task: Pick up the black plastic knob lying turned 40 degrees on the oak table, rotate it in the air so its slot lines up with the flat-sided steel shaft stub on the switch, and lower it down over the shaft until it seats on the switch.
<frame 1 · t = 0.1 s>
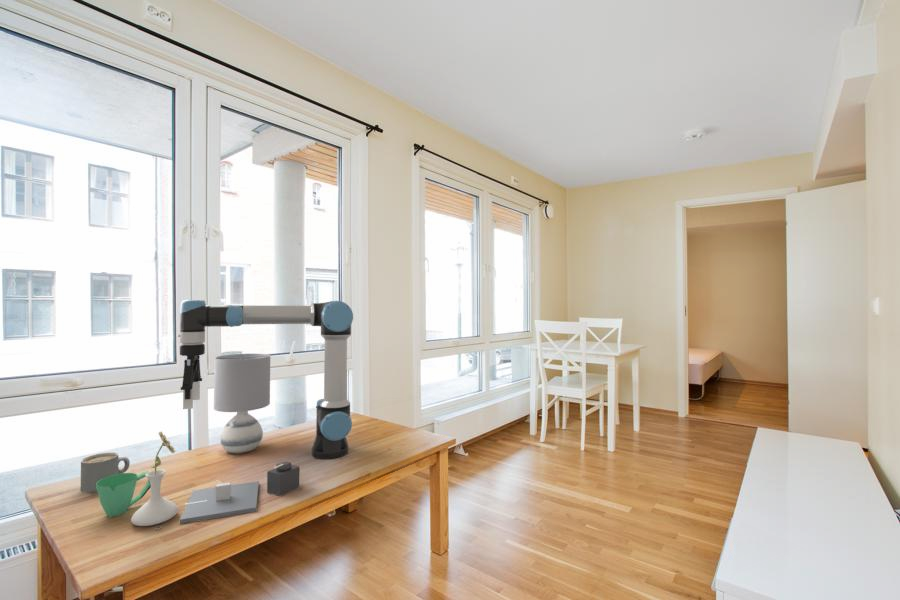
hand: (191, 404, 147), 28 cm above the table, fingers open, 13 cm apart
knob: (283, 489, 143), on the table
lamp: (242, 450, 180), on the table
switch: (223, 502, 133), on the table
coffee mug: (106, 485, 145), on the table
mug: (126, 509, 129), on the table
flower in vase: (156, 519, 123), on the table
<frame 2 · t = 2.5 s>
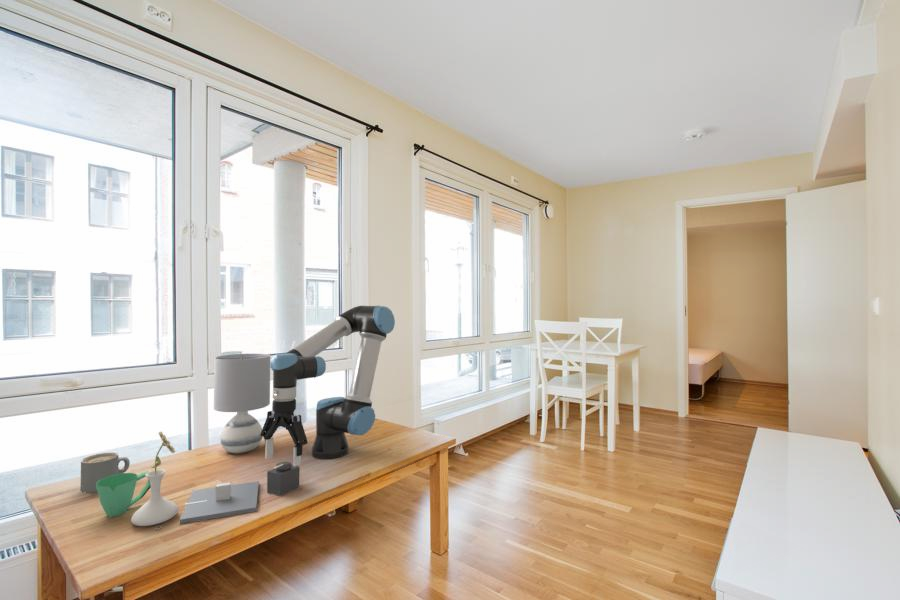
hand: (282, 461, 143), 10 cm above the table, fingers open, 13 cm apart
nothing on the table moved.
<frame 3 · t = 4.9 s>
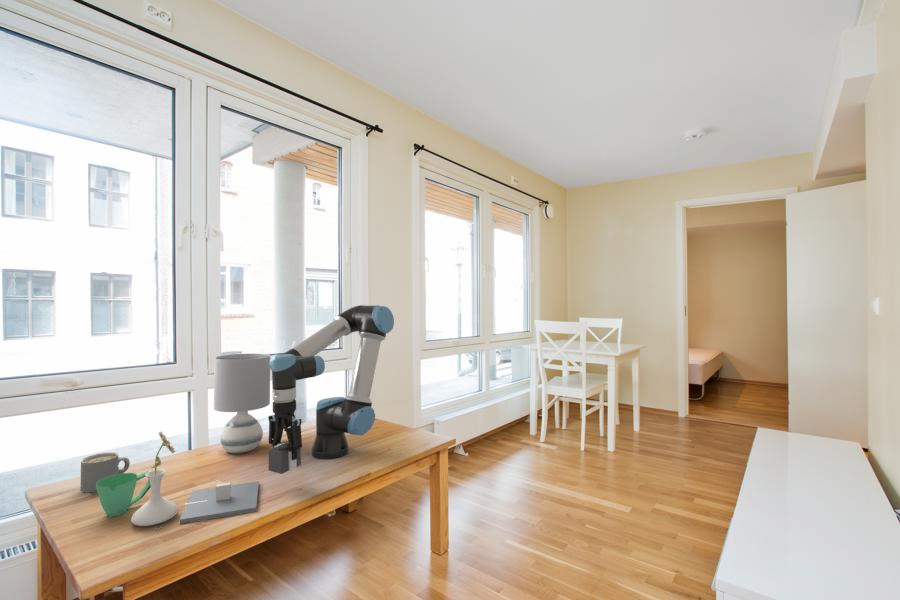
hand: (285, 466, 144), 8 cm above the table, fingers closed on knob, 6 cm apart
knob: (284, 467, 143), point 7 cm above the table, touching gripper
everything else where it was.
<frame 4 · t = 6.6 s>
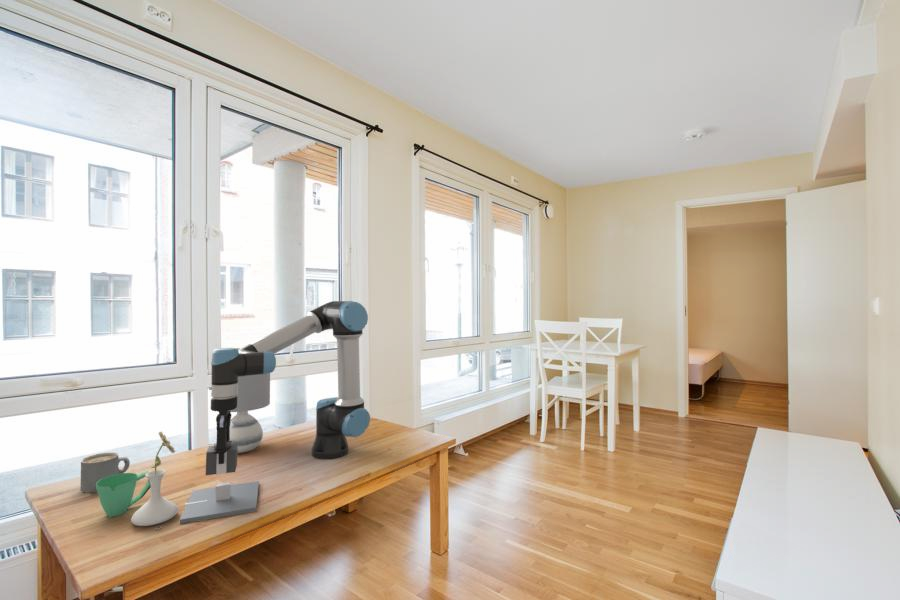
hand: (222, 469, 133), 11 cm above the table, fingers closed on knob, 6 cm apart
knob: (221, 469, 133), point 10 cm above the table, touching gripper
everything else where it was.
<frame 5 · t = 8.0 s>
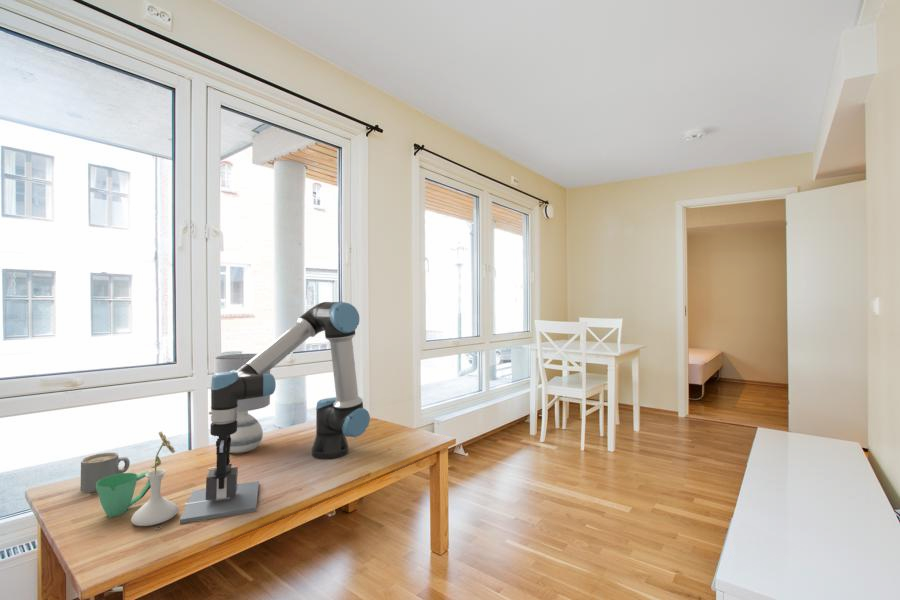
hand: (222, 493, 133), 3 cm above the table, fingers closed on knob, 6 cm apart
knob: (221, 494, 133), point 3 cm above the table, touching gripper
everything else where it was.
when the fingers open (2 cm above the table, at t = 8.7 s): knob stays where it is, resting on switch.
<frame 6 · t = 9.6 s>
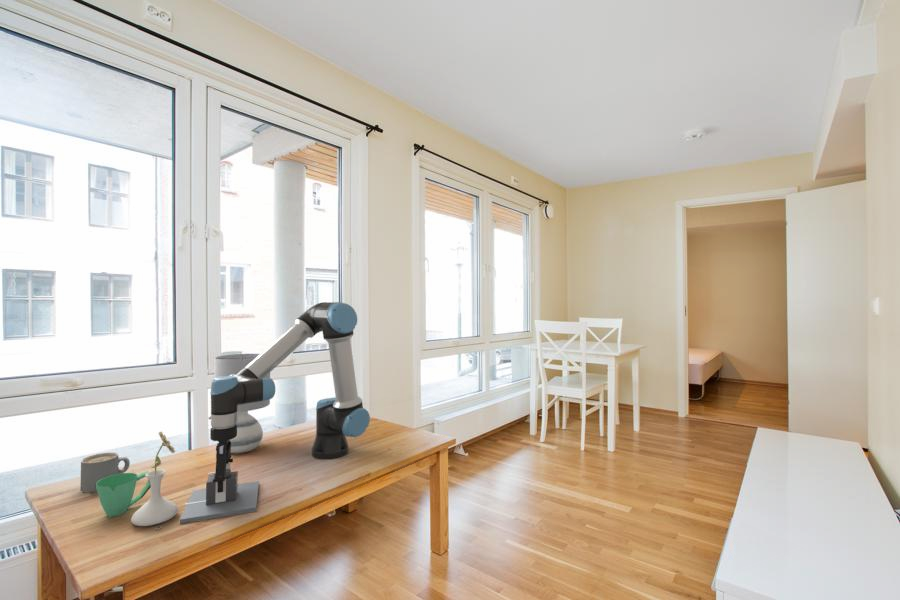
hand: (223, 492, 133), 3 cm above the table, fingers open, 13 cm apart
knob: (222, 498, 133), point 1 cm above the table, touching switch
everything else where it was.
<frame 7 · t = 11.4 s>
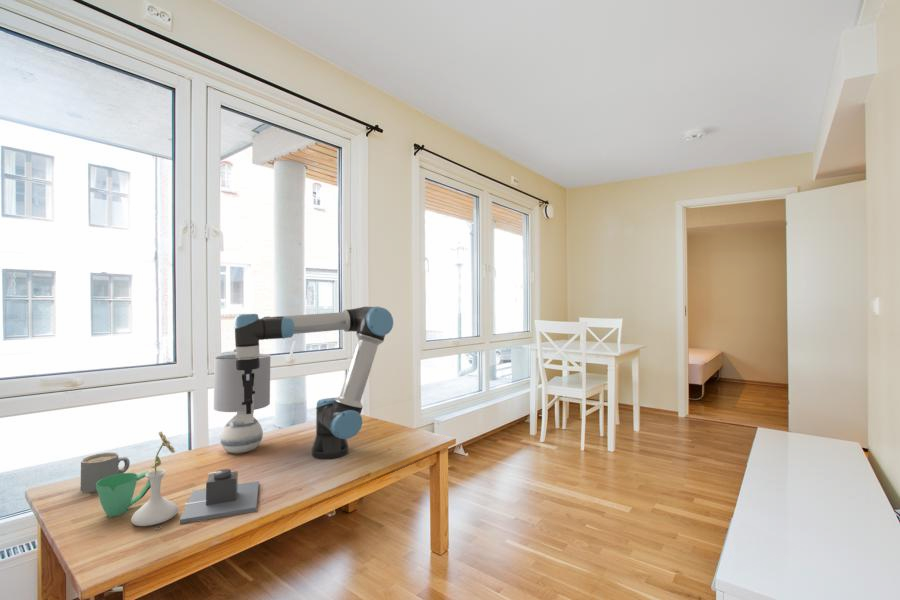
hand: (249, 417, 147), 23 cm above the table, fingers open, 13 cm apart
nothing on the table moved.
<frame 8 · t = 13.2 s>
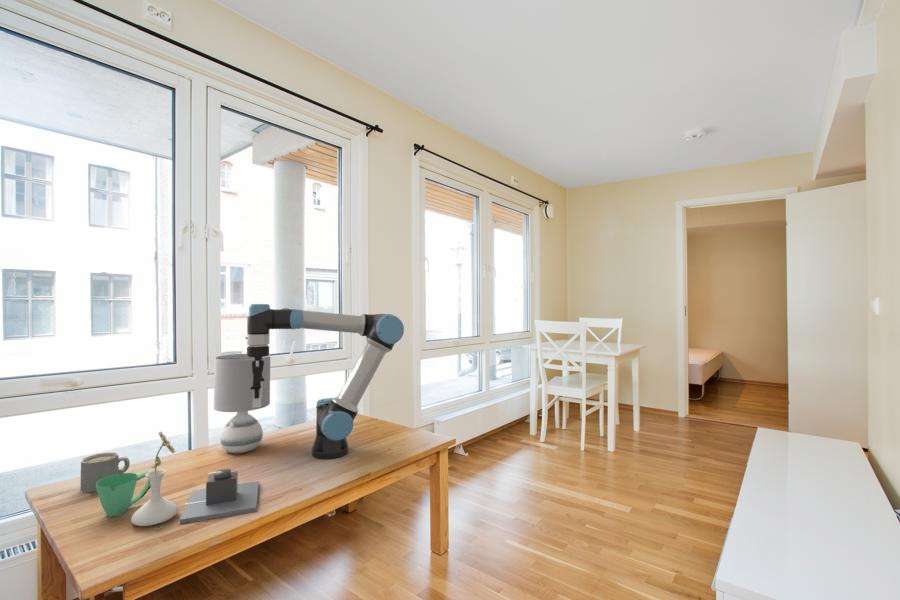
hand: (257, 402, 154), 27 cm above the table, fingers open, 13 cm apart
nothing on the table moved.
at the end: knob 0.3 cm off-centre on the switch, point 1.2 cm above the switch's base; knob tilted 0°; the gripper is holding nothing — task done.
